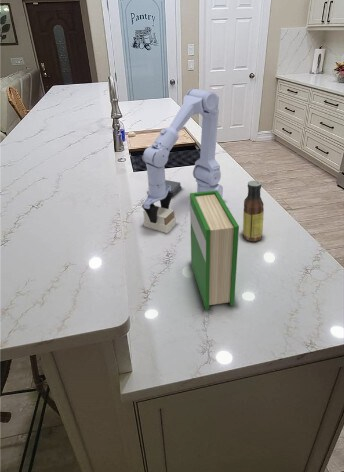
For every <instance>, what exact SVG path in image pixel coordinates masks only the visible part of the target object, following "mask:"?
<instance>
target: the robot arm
mask: <svg viewBox="0 0 344 472" xmlns="http://www.w3.org/2000/svg"><path fill="white" fill-rule="evenodd" d="M219 102H220V96H218V94H217V93H216V92H215V91H212V90H204V89H198V88H194V87H193V88H190V89H188V91H186V94H185V95H184V96H183V102H182V103H183V104H182V105H181V107H180V108H179V110H178V111H177V113H176V115H175V117H174V118H173V120H172V122H171V124H170V125H169V126H167V127H164V128H163V129H161V130H160V131H159V132H160V133H159V135H158V136H157V137H156V139H155V140H154V142H152V144H151V145H150V146H148V147H147V148H145V150H144V151H143V154H142V156H141V158H142V161H143V162H144V163H145V167H146V173H147V185H148V191H146V195H147V196H146V198H145V200H144V201H143V202H142V204H141V207H142V209H143V210H144V211H146V213H147V215H148V217H149V219H150V222H152V223H156V222H157V211H158V209H159V207H162V208H166V209H170V205H171V201H172V199H173V198H174V196H173V193H170V191H171V186H170V185H166V184H165V180H166V170H165V165H166V164H167V163H168V161H169V155H170V151H171V150H172V149H173V147H174V146H175V144H176V143H177V142H178V140H179V132H180V131H182V129H183V128H184V127H185V125H186V124H187V123H188V122H189V120H190V119H191V118H192V117H193V116H194V115H199V114H200V116H202V120H201V121H202V122H201V136H200V137H201V138H200V149H199V150H200V152H199V158H198V159H197V160H195V162H194V167H193V169H192V176H193V178H194V179H195V182H196V187H197V188H196V193H197V192H206V191H215V190H217V191H218V192H219V194H220V196H221V197H222V198H223V195H224V194H223V192H224V189H223V187H224V186H223V185H222V184H219V182H220V180H221V178H222V172H221V165H220V163H218V161H217V160H216V150H217V149H216V148H217V136H218V125H219V104H220V103H219ZM157 202H159V204H160V206H159V207H157V206H158V205H155V203H157Z"/></svg>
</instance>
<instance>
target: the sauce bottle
mask: <svg viewBox="0 0 344 472" xmlns="http://www.w3.org/2000/svg"><path fill="white" fill-rule="evenodd" d="M261 190H262V182H260V181H258V180H249V181H248V182H247V196H246V197H245V198H244V200H243V215H242V217H243V218H242V219H243V220H242V221H243V223H242V225H243V226H242V234H243V238H244V239H245V240H247V241H249V242H259V241H260V240H261V239H262V237H263V230H264V212H265V211H264V205H265V204H264V201H263V199H262V197H261Z"/></svg>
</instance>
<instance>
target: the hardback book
mask: <svg viewBox="0 0 344 472" xmlns="http://www.w3.org/2000/svg"><path fill="white" fill-rule="evenodd" d="M189 208H190V209H189V210H190V211H189V212H190V213H189V214H190V215H189V216H190V220H189V221H190V263H191V268H192V271H193V274H194V278H195V281H196V284H197V287H198V290H199V294H200V296H201V297H200V298H201V300H202V303H203V306H204V309H205V310H206V311H208V310H210V306H212V305H213V306H215V305H220V304H221V305H222V304H226V303H227V304H229V307H233V306H235V295H236V281H237V280H236V279H237V264H238V251H239V250H238V248H239V232H240V225H239V224H238V222H237V220H236V219H235V217H234V216H233V214H232V212H231V210H230V209H229V207H228V206H227V204H226V202H225V201H224V198H223V196H222V197H221V196H220V194H219V192H218V191H217V190H215V191H206V192H197V191H196V192H190V193H189Z"/></svg>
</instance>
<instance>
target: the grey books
mask: <svg viewBox="0 0 344 472" xmlns="http://www.w3.org/2000/svg"><path fill="white" fill-rule="evenodd" d="M165 184H166V185H170V186H171V191H170V193H173V197H175V196H176V195H177V194H178V193H179V192H181V191H182V189H183V186H181V185H182V184H181V182H180V181H174V180H168V179H165Z"/></svg>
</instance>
